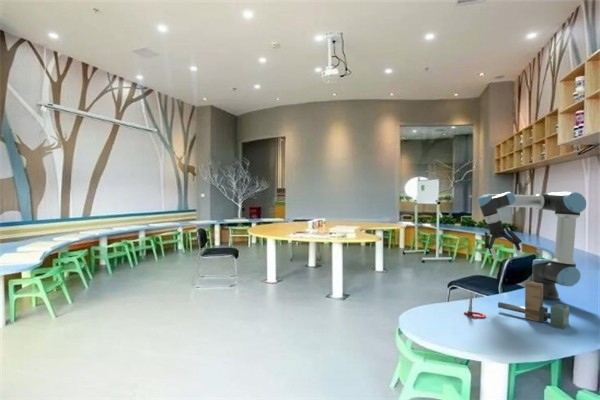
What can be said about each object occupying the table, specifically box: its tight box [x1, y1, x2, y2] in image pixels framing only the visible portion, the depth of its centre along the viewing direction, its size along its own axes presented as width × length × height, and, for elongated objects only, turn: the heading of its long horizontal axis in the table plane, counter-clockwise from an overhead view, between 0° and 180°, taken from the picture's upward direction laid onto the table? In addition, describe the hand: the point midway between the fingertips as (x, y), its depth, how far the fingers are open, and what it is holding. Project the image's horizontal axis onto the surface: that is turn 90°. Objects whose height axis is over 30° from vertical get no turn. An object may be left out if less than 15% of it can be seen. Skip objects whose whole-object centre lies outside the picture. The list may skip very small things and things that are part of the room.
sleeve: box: [524, 281, 544, 322], centre depth 172 cm, size 6×6×18 cm
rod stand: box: [497, 301, 570, 330], centre depth 173 cm, size 10×29×9 cm, turn 41°
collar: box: [538, 306, 549, 323], centre depth 169 cm, size 6×2×6 cm, turn 131°
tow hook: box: [463, 290, 487, 320], centre depth 177 cm, size 8×13×9 cm
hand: (507, 257), depth 193 cm, fingers open, 13 cm apart
